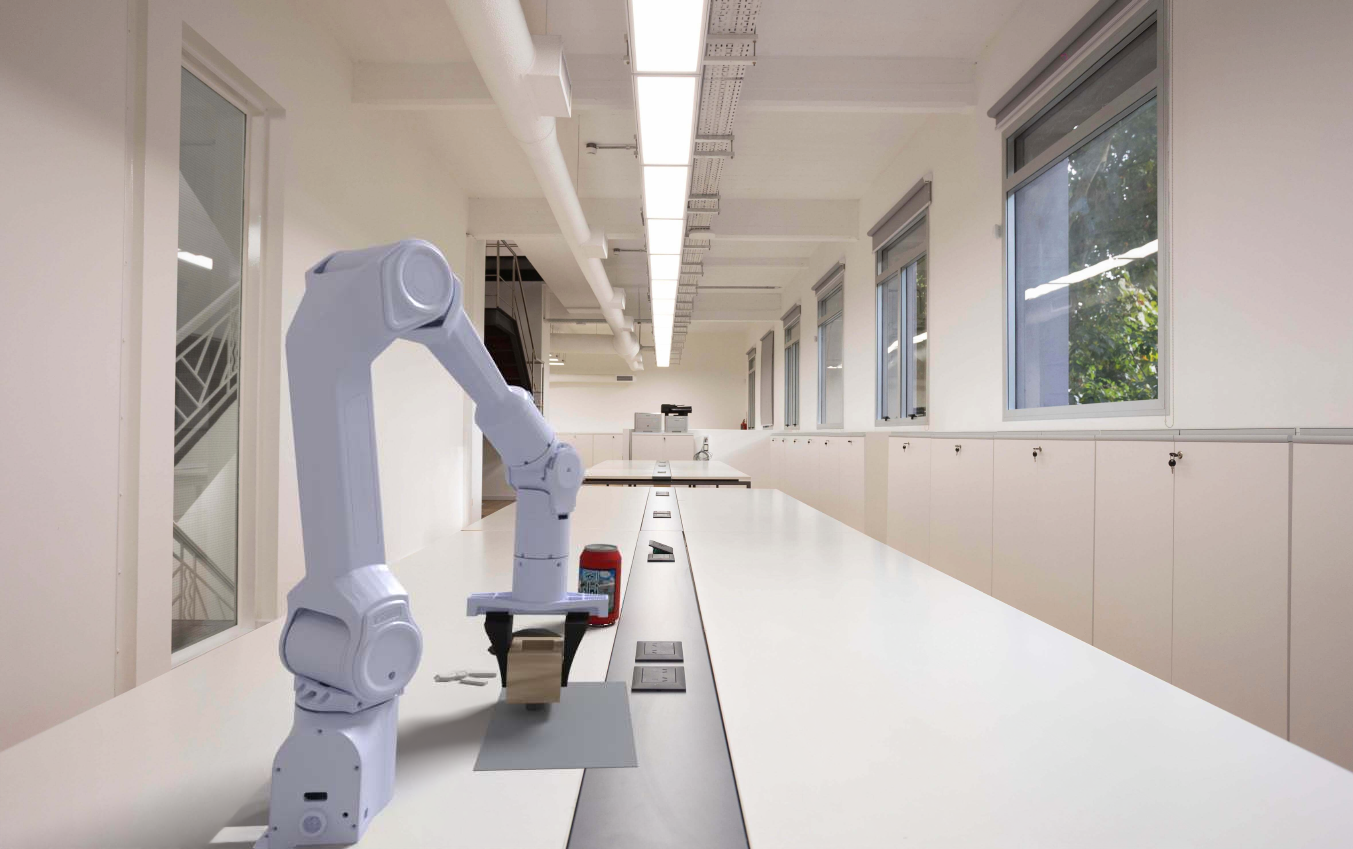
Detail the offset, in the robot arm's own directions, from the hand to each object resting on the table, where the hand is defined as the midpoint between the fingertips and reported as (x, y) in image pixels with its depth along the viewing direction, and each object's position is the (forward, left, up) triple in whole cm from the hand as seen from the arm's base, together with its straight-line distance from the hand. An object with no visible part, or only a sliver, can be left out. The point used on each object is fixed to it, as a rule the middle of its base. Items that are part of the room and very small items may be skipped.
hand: (535, 683), depth 69 cm
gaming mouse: (+19, +4, -4) cm, 20 cm away
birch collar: (0, 0, -1) cm, 1 cm away
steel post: (0, 0, -2) cm, 2 cm away
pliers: (+10, +13, -4) cm, 17 cm away
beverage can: (+35, -7, -3) cm, 36 cm away
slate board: (-3, -3, -3) cm, 5 cm away
